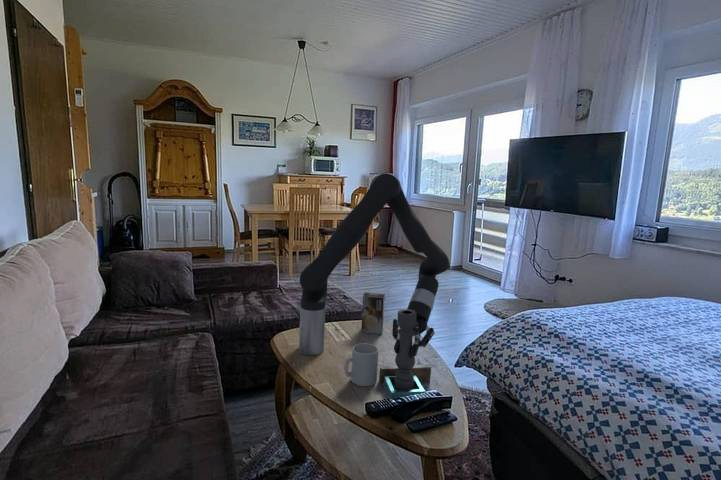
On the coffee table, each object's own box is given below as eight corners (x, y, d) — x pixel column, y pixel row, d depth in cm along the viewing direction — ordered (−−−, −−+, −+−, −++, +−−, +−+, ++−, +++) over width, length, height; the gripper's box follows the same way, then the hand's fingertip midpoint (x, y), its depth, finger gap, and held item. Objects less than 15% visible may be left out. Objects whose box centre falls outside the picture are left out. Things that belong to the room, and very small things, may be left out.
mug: (366, 371, 139) (368, 341, 137) (381, 382, 132) (384, 350, 130) (337, 379, 132) (338, 348, 130) (351, 392, 125) (353, 359, 123)
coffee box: (383, 329, 177) (385, 293, 174) (381, 334, 171) (384, 298, 168) (362, 326, 179) (364, 291, 176) (360, 332, 172) (362, 296, 170)
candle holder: (414, 384, 129) (417, 309, 125) (413, 395, 123) (417, 316, 119) (394, 383, 130) (397, 308, 126) (393, 393, 124) (396, 315, 120)
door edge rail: (380, 384, 131) (381, 368, 130) (378, 380, 133) (379, 365, 132) (430, 382, 134) (431, 367, 133) (428, 379, 136) (429, 364, 135)
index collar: (390, 403, 120) (391, 392, 120) (383, 385, 130) (383, 375, 130) (424, 401, 122) (425, 391, 121) (414, 384, 132) (414, 374, 132)
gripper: (397, 295, 131) (379, 344, 123) (440, 304, 125) (423, 356, 116) (402, 307, 137) (385, 353, 128) (443, 316, 130) (428, 365, 122)
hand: (403, 354), depth 122 cm, fingers closed on candle holder, 4 cm apart
